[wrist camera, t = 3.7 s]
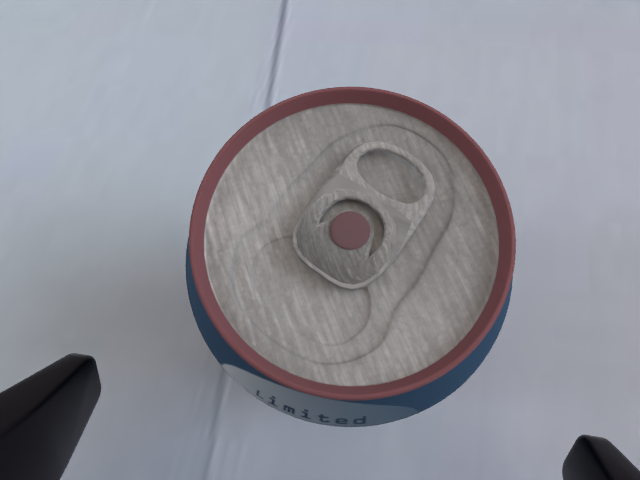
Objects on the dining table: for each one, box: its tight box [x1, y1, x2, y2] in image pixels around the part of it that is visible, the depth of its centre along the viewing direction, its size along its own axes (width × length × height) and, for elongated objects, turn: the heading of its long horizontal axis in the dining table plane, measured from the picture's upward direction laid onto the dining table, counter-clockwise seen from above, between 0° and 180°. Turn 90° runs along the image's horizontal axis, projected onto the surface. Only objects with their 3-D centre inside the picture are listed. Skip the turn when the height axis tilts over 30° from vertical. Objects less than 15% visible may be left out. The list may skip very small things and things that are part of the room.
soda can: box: [186, 87, 516, 427], centre depth 14 cm, size 7×7×12 cm
